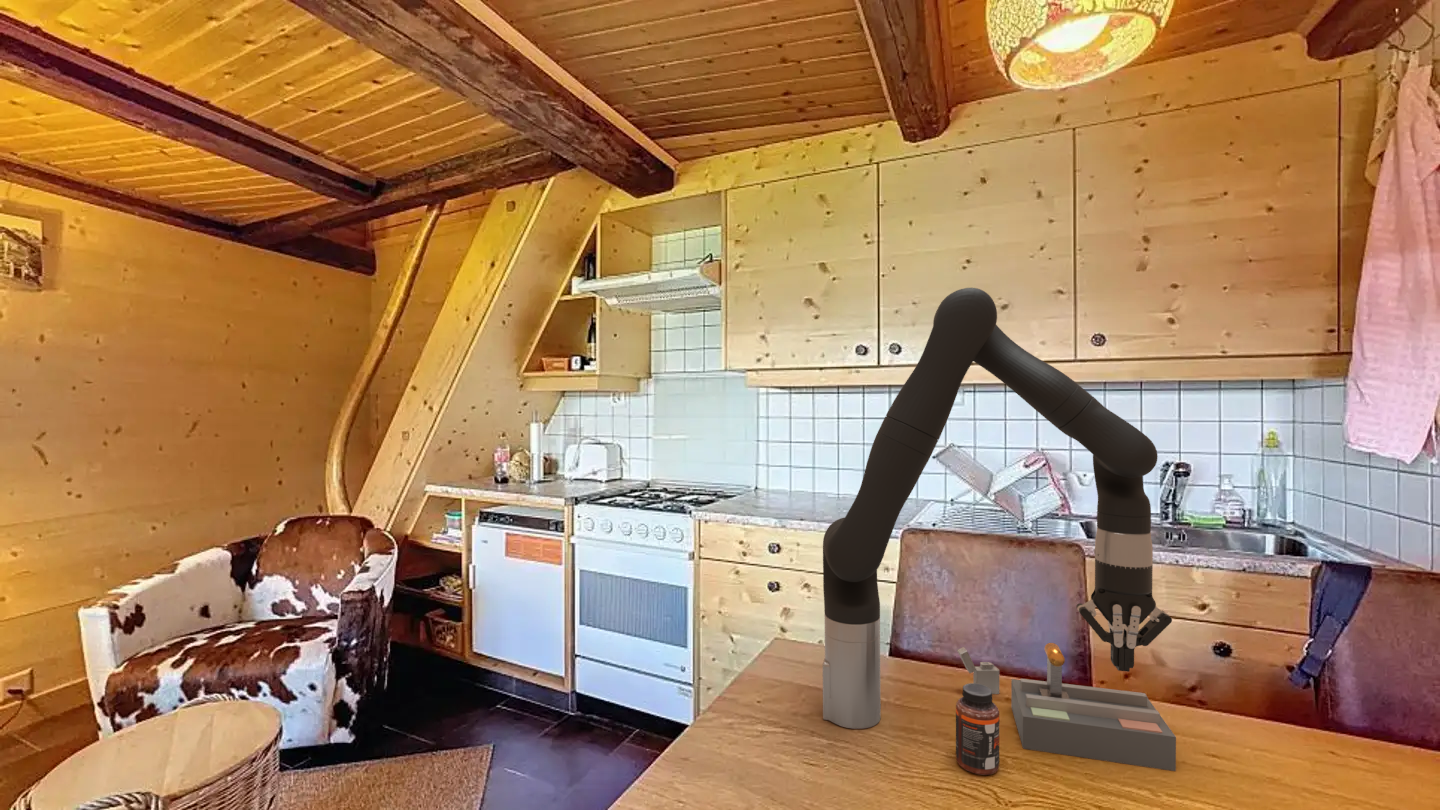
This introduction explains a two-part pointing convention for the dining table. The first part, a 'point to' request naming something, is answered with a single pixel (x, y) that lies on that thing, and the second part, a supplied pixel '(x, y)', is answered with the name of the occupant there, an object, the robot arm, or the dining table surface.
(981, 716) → the supplement bottle
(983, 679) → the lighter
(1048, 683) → the breaker handle
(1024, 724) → the switch box
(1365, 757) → the dining table surface
